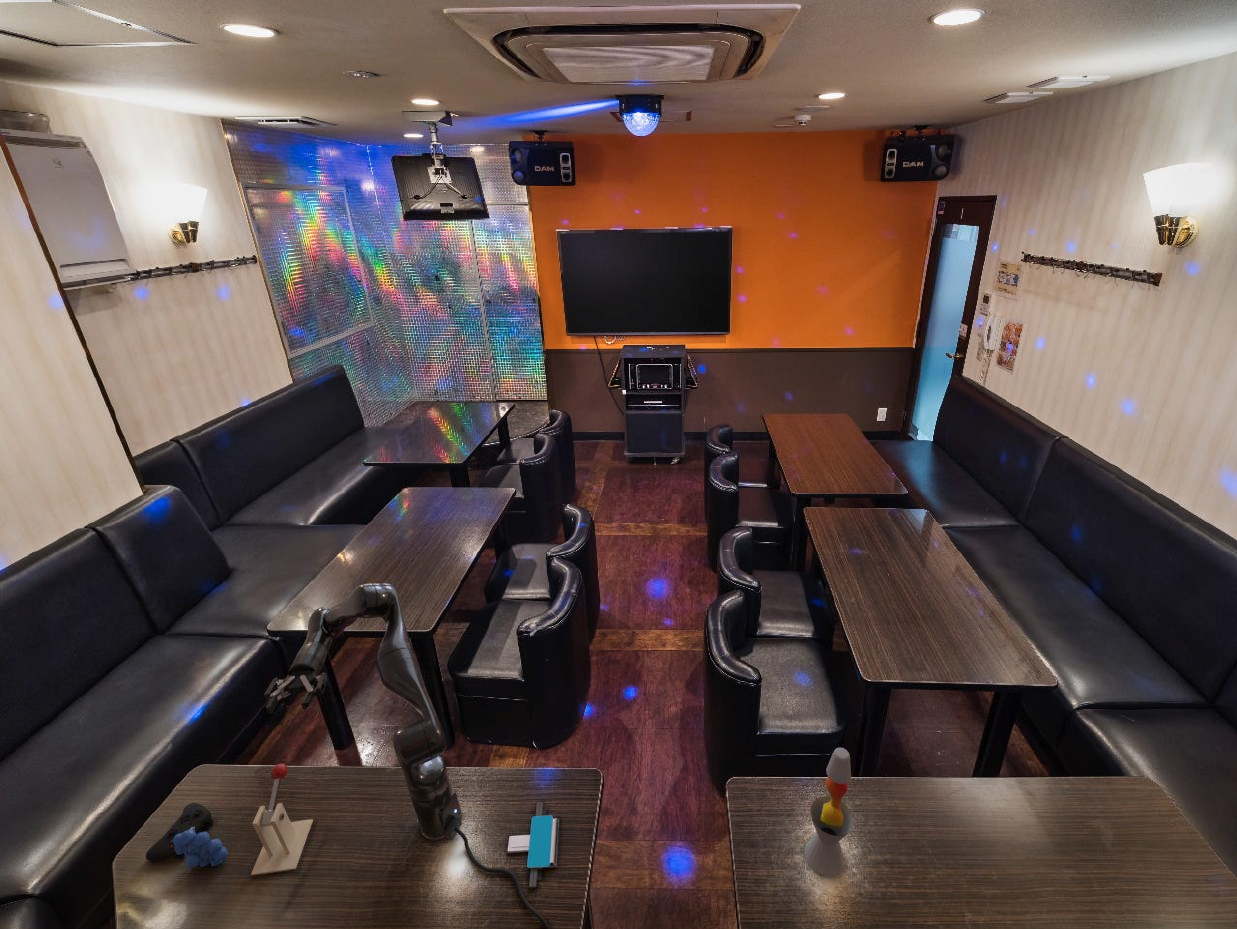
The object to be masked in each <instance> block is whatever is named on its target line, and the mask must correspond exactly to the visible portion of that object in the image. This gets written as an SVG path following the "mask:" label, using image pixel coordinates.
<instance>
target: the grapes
mask: <svg viewBox="0 0 1237 929" xmlns="http://www.w3.org/2000/svg"><path fill="white" fill-rule="evenodd" d="M173 843H174V845H175V852H176V853H177V855H178V854H184V855H185V856H184V862H185V865H186V867H187V869H188V868H193V867H197V866H198V865H199V867H200V868H203V867H206V866H208V865H211V867H218V866H219V865H221V864H222V863H223V862H224V861H225V859H226V858H228V856H229V853H228V852H229V851H228V849H227V847H226V846H223V842H222V840H221V838H218V837H217V838H212V839H211V836H210V834H209V832H208V831H201V832H198V833H197V835H196V833H195V831H194V829H192V830H186V831H184V832H183V833H180V834H177V835H175V836H174V838H173Z"/></svg>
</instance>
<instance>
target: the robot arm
mask: <svg viewBox="0 0 1237 929" xmlns="http://www.w3.org/2000/svg"><path fill="white" fill-rule="evenodd" d="M380 618H381V619H382V620H383V621H384V624H385V633H384V635H383V638H382V640H381V642H380V645H379V647H378V649H377V652H376V656H375V662H376V667H377V670H378V673H379V677H380V680H381V683H382V685H383V686H384V687H385V689H387V690H388V691H389V692H390V693H392V694H394V695H395V696H397V697H398V698H399V699H402V700H403V701H405V702H406V703H408V704H409V705H410V706H411V707H413V709H415V710H416V711H417V713H418V714H419V715H420V717H421V719H419V720H416V721H414V722H412V723H409V724H406V725H405V726H402V727H401V728H398V729H396V730H395V732H393V737H392V746H393V750H394V753H395V756H396V758H397V760H398V763H399V765H400V768H401V770H402V773H403V776H404V780H405V783H406V787H407V789H408V790H407V791H408V794H409V795H410V799H411V802H412V805H413V810H414V813H415V816H416V818H417V821H418V824H419V829H420V832H421V834H422V836H423V837H424V838H425V839H426V840H428V841H441V840H443V839H447V840H449V841H453V840H454V838H456V835H457V834H458V835H459V836H460V837H461V839H462V840H463V843H464V844H463V845H464V848H465V851H466V853H467V855H468V857H469V859H470V861H471V862H472V863H473V864H474V865H475V866H476V867H477V868H479V869H480V870H481V871H484V872H486V873H497V874H505V875H508V876H509V877H511V878H512V880H513V881H514V884H515V886H516V890H517V893H518V896H519V898H520V900H521V902H522V904H523V906H524V907H525V908H526V909H527V910H529V912H530V913H532V914H533V915H534V916H535V917H536V918H537V919H538V920H539V921H540V923H541V924H542V926H543V927H544V929H549V928H550V926H549V924H548V923H547V921H546V919H545V918H544V917H543V916H542V914H541V913H539V911H537V909H535V908H534V907H533V906H532V905H531V903H529V902H528V900H527V898H526V897H525V895H524V892H523V890H522V886H521V883H520V880H519V878H518V877H517V875H516V874H515V873H514V872H512V871H511V870H509V869H506V868H500V867H499V868H498V867H489V866H485V865H484V864H482V863H481V862H479V861H478V860H477V859H476V857H475V855H474V854H473V852H472V849H471V848H470V845H469V841H468V838H467V835H466V834H465V833H464V832H463V831H462V830H461V829H460V828H461V826H462V825H463V822H462V817H463V814H462V810H461V806H460V803H459V798H458V795H457V792H456V791H455V790H453V788H452V785H451V780H450V778H449V773H448V770H447V765H446V762H445V760H444V759H443V757H442V755H445V753H446V751H447V748H448V747H447V746H448V745H447V743H448V742H447V738H446V734H445V732H444V729H443V726H442V724H441V721H440V719H439V716H438V714H437V712H436V709H435V707H434V704H433V703H432V700H431V697H430V695H429V692H428V690H427V687H426V684H425V680H424V676H423V673H422V670H421V667H420V664H419V661H418V658H417V655H416V652H415V650H414V647H413V644H412V641H411V640H410V636H409V633H408V630H407V627H406V624H405V620H404V614H403V610H402V606H401V602H400V598H399V594H398V591H397V589H396V587H395V586H394V585H393V584H392V583H388V582H374V583H373V582H369V583H362V584H359V585H358V586H357V585H356V587H354V588H353V589H352V591H351V592H350V593H349V594H348V595H347V596H346V597H345V598H344V599H343V601H341V602H340V603H338V604H336V605H335V606H332V607H331V608H329V607H326V606H320V607H317V608H316V609H315V610H314V611H313V612H312V613H311V615H310V617H309V619H308V622H307V632H306V638H305V640H304V642H303V644H302V646H301V648H300V649H299V651H298V652H297V653H296V655H295V657H294V660H293V662H292V663H291V666H289V669H288V672H287V676H285V678H283V679H279V678H278V677H275V678H273V679H272V681H271V682H270V683H269V686H268V687H267V688H266V690H265V692H264V693H263V695H264V697H265V699H266V702H267V703H266V705H265V710H266V712H267V713H268V714H273V713H274V711H275V709H276V707H277V705H278V702H279V701H280V700H282V699H286V698H287V697H288V696H290V695H295V694H302V693H304V692H305V695H304V697H303V699H302V701H301V704H300V705H301V708H302V710H307V709H308V708H309V707H310V706H311V705H312V702H313V699H315V697H317V696H319V697H321V696H323V695H324V693H325V691H326V690H325V689H326V687H327V684H328V681H329V679H328V676H327V673H326V672H324V671H323V672H322V673H321V671H322V669H323V666H324V665H325V662H326V659H327V655H328V653H329V651H330V649H331V646H332V644H333V640H335V639H338V638H339V637H340V636H341V635H342V634H343V633H344V632H345V630H346V628H348V627H350V626H352V625H353V624H354V623H356V622H357V620H358V619H380ZM315 684H316V686H315V688H313V687H312V686H314V685H315ZM285 690H286V691H285Z"/></svg>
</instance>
